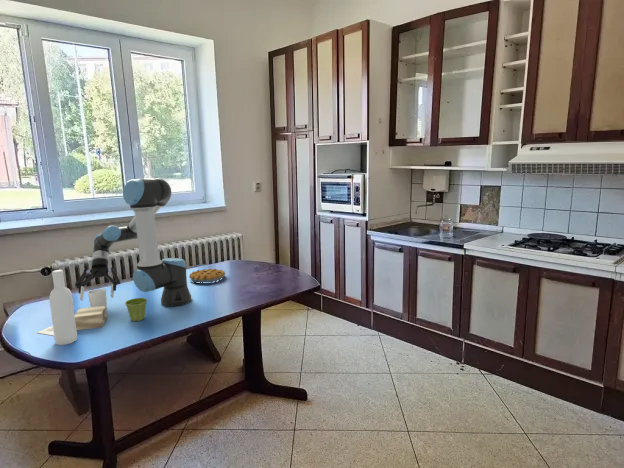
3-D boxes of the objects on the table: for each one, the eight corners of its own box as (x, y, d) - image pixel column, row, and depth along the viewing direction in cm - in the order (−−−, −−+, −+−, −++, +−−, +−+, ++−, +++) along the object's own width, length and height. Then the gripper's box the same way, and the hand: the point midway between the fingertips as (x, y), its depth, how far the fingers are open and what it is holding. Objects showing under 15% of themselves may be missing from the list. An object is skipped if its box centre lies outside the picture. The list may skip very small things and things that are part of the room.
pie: (220, 285, 234) (220, 277, 233) (184, 285, 234) (183, 277, 233) (228, 274, 255) (228, 267, 254) (195, 274, 255) (195, 267, 254)
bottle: (50, 343, 159) (40, 272, 154) (68, 335, 166) (59, 267, 161) (64, 346, 156) (55, 274, 151) (82, 338, 164) (73, 269, 158)
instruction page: (76, 328, 174) (75, 327, 174) (57, 336, 165) (57, 335, 165) (55, 324, 178) (55, 324, 177) (36, 332, 169) (36, 332, 169)
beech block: (80, 320, 182) (79, 308, 181) (107, 317, 185) (105, 305, 184) (74, 330, 172) (72, 317, 170) (102, 327, 175) (100, 314, 174)
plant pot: (134, 324, 177) (133, 306, 176) (122, 320, 182) (120, 302, 181) (152, 317, 185) (151, 300, 183) (140, 313, 190) (138, 296, 188)
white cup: (111, 308, 197) (109, 289, 195) (98, 314, 189) (96, 294, 187) (99, 306, 199) (97, 288, 197) (86, 312, 192) (84, 293, 190)
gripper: (127, 262, 211) (125, 298, 200) (75, 266, 204) (70, 303, 193) (125, 255, 205) (122, 291, 194) (71, 259, 198) (65, 297, 187)
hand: (96, 297), depth 194 cm, fingers open, 13 cm apart
